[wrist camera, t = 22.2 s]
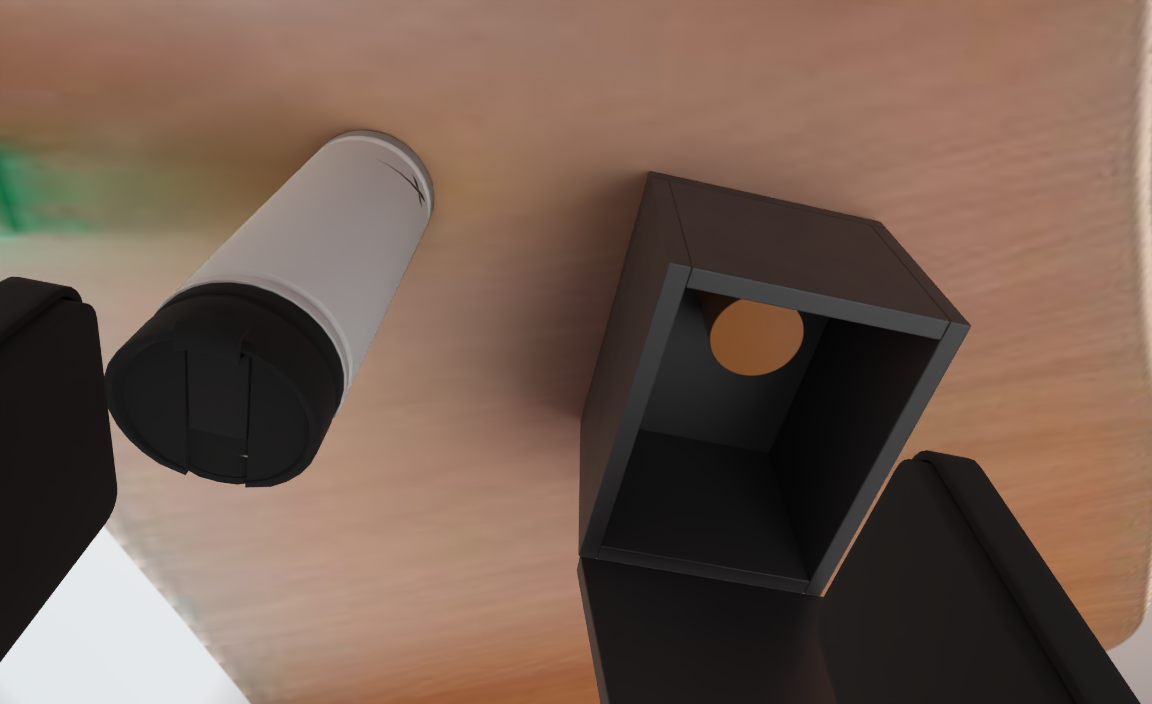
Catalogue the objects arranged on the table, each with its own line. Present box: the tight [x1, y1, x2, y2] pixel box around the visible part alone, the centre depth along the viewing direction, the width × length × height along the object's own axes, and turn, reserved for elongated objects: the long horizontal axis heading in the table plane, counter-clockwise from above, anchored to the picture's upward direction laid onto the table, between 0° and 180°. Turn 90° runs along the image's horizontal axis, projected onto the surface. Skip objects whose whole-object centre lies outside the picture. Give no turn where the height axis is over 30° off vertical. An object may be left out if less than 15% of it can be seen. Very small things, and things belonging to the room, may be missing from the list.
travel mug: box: [104, 130, 434, 487], centre depth 30 cm, size 6×7×20 cm
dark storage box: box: [579, 171, 971, 596], centre depth 38 cm, size 16×12×11 cm
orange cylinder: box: [697, 290, 804, 376], centre depth 38 cm, size 4×4×5 cm
